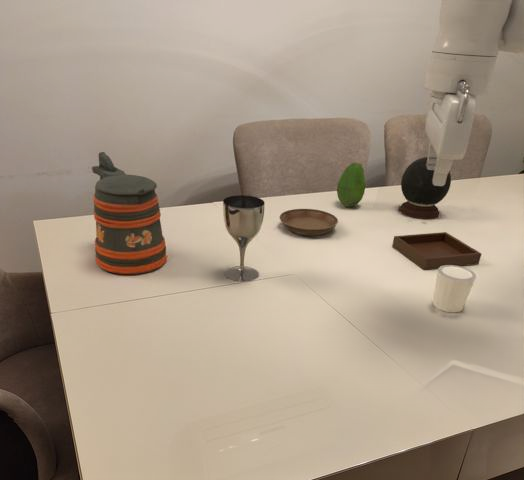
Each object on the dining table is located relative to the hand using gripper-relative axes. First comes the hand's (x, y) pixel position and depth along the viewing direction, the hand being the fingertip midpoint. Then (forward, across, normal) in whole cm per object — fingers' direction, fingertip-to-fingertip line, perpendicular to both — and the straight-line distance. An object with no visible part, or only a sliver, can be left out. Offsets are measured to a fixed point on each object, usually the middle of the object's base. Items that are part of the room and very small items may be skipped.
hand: (434, 176), depth 79 cm
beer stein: (+25, +9, +58) cm, 64 cm away
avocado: (+25, +62, +12) cm, 68 cm away
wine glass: (+25, +8, +32) cm, 42 cm away
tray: (+25, +31, -9) cm, 41 cm away
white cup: (+25, +6, -9) cm, 27 cm away
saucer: (+25, +39, +22) cm, 52 cm away
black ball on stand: (+25, +62, -8) cm, 68 cm away
